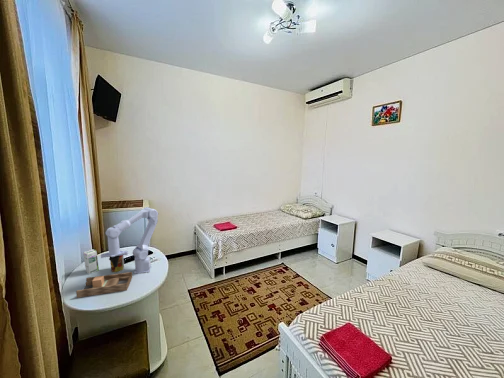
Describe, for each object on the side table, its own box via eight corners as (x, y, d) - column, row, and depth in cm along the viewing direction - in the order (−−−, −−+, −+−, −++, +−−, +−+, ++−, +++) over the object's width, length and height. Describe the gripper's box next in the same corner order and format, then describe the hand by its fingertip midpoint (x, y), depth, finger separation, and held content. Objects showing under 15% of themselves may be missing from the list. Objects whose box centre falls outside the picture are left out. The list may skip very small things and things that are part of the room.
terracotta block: (104, 282, 133) (103, 275, 132) (101, 286, 129) (101, 279, 128) (96, 283, 132) (95, 276, 131) (93, 287, 127) (92, 280, 127)
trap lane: (132, 277, 142) (131, 271, 141) (127, 290, 129) (126, 284, 128) (87, 283, 135) (86, 277, 134) (77, 297, 121) (76, 291, 121)
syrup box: (89, 274, 145) (87, 254, 143) (85, 271, 148) (83, 251, 146) (99, 270, 150) (96, 250, 147) (95, 268, 153) (92, 248, 150)
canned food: (110, 268, 152) (108, 252, 150) (123, 265, 157) (121, 249, 155) (112, 273, 146) (110, 257, 144) (125, 269, 151) (124, 253, 149)
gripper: (97, 250, 129) (100, 271, 131) (125, 247, 133) (127, 268, 135) (102, 245, 136) (104, 265, 138) (128, 243, 140) (129, 262, 142)
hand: (115, 266), depth 137 cm, fingers closed
